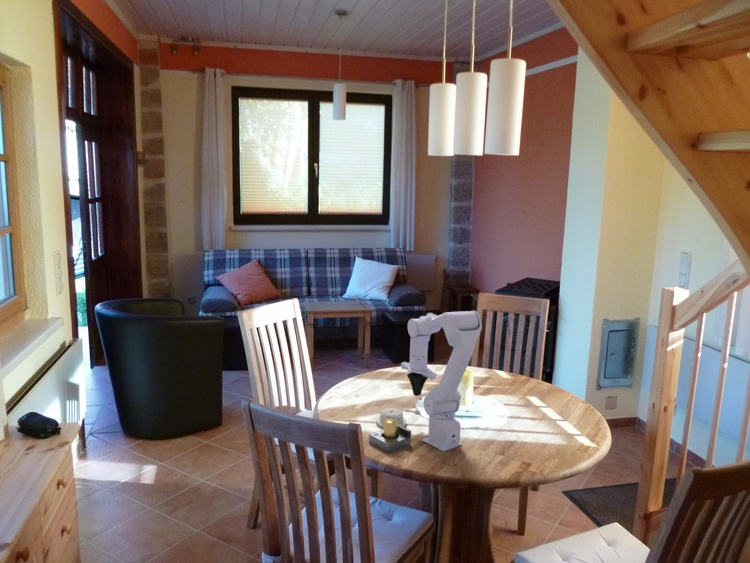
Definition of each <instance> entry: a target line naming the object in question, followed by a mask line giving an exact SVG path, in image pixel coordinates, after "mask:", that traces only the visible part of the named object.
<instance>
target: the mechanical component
mask: <svg viewBox="0 0 750 563" xmlns="http://www.w3.org/2000/svg"><path fill="white" fill-rule="evenodd" d="M379 412H380V413H379V416H378V417H376V419H375V421H376V422H375V423H376V426H378V427H379V428H381V429H384V420H386V419H394V420H396V421H397V424H399V425H401V426H403V427H405V428H406V426H407V419H406V418H405V417H404V412H403V411H402V410H401V409H398V408H395V407H389V408H387V407H386V408H384V409H381V410H380V411H379Z"/></svg>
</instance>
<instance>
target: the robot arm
mask: <svg viewBox="0 0 750 563" xmlns="http://www.w3.org/2000/svg"><path fill="white" fill-rule="evenodd" d="M441 329H443V333H444V334H445V338H446V340H447V343H448V345H449V346H451V347H453V349H452V352H451V355H450V356H449V359H448V361H447V364H446V367H445V369H444V371H443V373H442V377H441V379H440V382H439V383H438V385H437V386H435V387H433V388H431V389H430V390H429V391H428V394H427V395H425V396H424V400H423V408H424V411H425V413H426V414H427V415H428V417H429V418H428V436H427V437H425V438H422V439H421V440H422V442H424V443H426V444H428V445H429V446H432V447H434V448H436V449H438V450H440V451H442V452H446V451H448V450H451V449H454V448H457V447H459V446H462V442H461V422H460V421H458V420H457V419H455V416H456V413H457V412H458V411H459V409H460V406H461V399H462V396H461V393H460V391H459V390H458V388H459V386H460V383H461V382H462V380H463V376H464V374H465V372H466V370H467V368H468V365H469V364H470V361H471V358H472V357H473V354H474V351H475V346H476V343H477V342H478V338H479V336H480V334H481V332H482V329H483V326H482V319H481V316H480V314H479V312H478V311H476V310H470V311H469V310H468V311H467V310H465V311H463V310H462V311H450V312H449V311H448V312H446V311H445V312H443V313H441V314H439V315H437V314H435V313H433V312H428V313H426V315H421V316H419V318H410V319H409V320H408V322H407V331H408V335H409V336H410V341H409V342H410V343H409V344H410V346H409V362H406V361H403V362H401V363H400V369H401V370H407V372H408V373H407V374H406V375H407V376H406V377H407V378H408V380H409V382H410V385H411V389H412V394H413V396H415V397H417V396H421V395H422V391H423V388H424V385H425V383H426V382H427V380H428V379H429V380H431V381H432V380H436V379H437V373H436V372H435V371H433V370H431V369H430V368H428V351H429V342H430V340H431V336H432V334H435V333H438V332H439V331H440V330H441Z"/></svg>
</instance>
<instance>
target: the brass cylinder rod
mask: <svg viewBox="0 0 750 563" xmlns="http://www.w3.org/2000/svg"><path fill="white" fill-rule="evenodd" d="M383 430H384V436H383V438H385V439H396V438H397V421H396V420H394V419H386V420H384V428H383Z"/></svg>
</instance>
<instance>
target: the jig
mask: <svg viewBox="0 0 750 563" xmlns="http://www.w3.org/2000/svg"><path fill="white" fill-rule="evenodd" d="M383 436H384V429H381V430H378V431H375V432H372V433H369V434H368V442H369V443H370V444H372V445H374V446H376V447H377V448H379V449H381V450H383V451H385V452H386V453H390V452H393V451H397V450H400V449H402V448H406V447H408V446H411V445H412V444H411V443H412V430H410V429H409V428H406V426H405V427H403V426H401V425H399V424H397V438H396V439H385V438H383Z"/></svg>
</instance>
